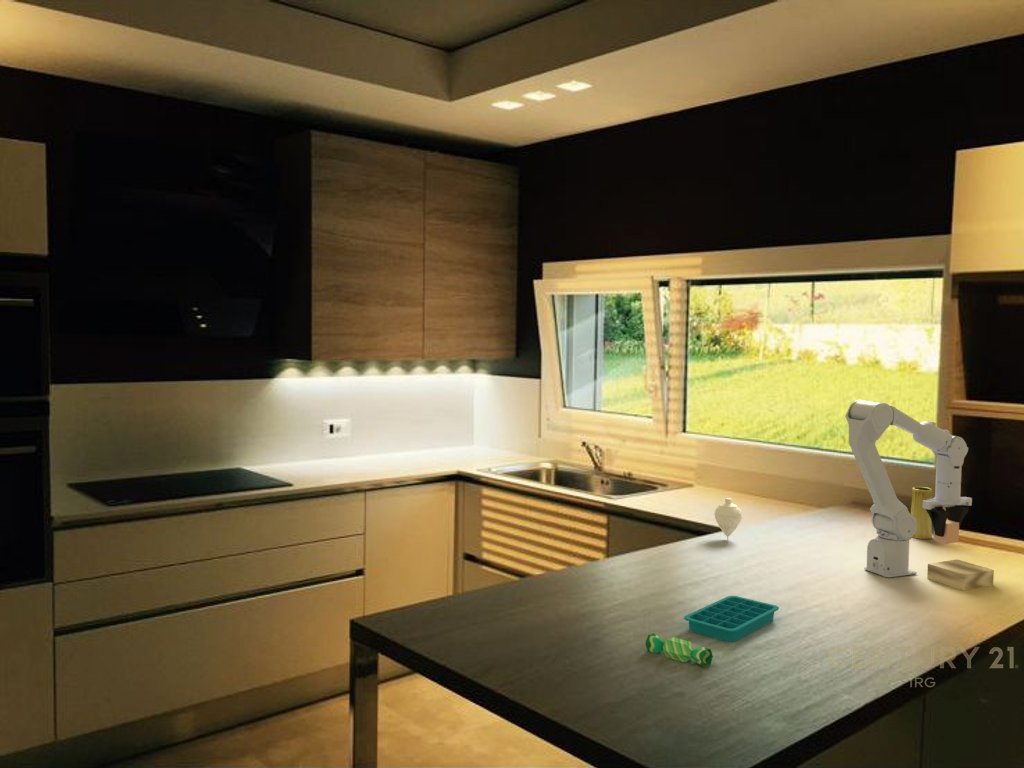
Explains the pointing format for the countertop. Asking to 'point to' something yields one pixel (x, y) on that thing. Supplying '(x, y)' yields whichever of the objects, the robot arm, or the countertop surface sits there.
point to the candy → (678, 649)
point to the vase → (921, 512)
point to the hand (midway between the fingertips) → (946, 535)
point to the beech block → (960, 574)
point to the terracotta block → (949, 533)
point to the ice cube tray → (731, 618)
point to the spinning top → (728, 516)
